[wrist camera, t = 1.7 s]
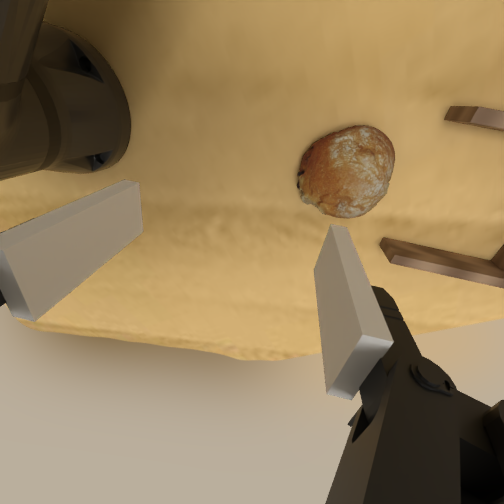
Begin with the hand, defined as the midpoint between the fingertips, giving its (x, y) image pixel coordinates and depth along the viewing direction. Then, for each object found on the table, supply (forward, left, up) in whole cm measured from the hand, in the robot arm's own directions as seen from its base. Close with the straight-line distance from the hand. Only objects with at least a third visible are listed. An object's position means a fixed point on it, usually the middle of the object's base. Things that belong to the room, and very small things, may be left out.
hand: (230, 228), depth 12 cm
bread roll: (+9, 0, -21) cm, 23 cm away
